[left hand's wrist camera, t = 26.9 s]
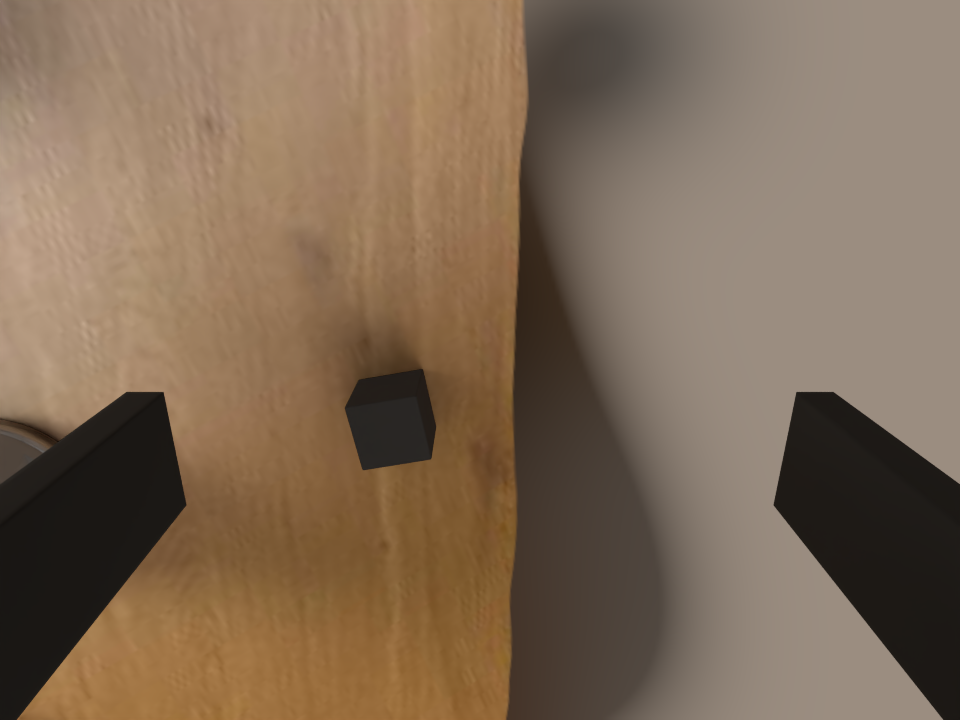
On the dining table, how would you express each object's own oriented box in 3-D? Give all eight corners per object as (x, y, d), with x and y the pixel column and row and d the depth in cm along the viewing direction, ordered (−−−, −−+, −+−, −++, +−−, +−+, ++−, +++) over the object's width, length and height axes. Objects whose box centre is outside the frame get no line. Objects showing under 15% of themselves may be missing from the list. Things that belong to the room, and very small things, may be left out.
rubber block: (436, 427, 47) (431, 459, 42) (374, 437, 47) (362, 470, 42) (422, 368, 45) (416, 395, 40) (358, 379, 45) (344, 407, 41)
